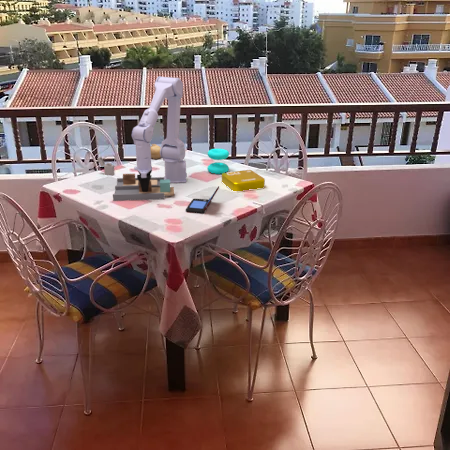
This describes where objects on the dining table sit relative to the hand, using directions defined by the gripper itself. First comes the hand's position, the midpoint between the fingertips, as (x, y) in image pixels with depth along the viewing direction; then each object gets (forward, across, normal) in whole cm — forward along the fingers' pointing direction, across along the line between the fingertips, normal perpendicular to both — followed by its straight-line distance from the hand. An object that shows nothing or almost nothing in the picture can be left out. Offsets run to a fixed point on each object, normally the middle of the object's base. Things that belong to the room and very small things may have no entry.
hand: (145, 189), depth 193 cm
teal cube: (+1, 0, +8) cm, 8 cm away
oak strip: (+2, 0, +4) cm, 5 cm away
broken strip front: (+2, -10, -6) cm, 12 cm away
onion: (+3, -52, +3) cm, 53 cm away
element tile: (+3, -10, +41) cm, 43 cm away
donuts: (+3, -29, +32) cm, 44 cm away
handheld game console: (+3, +14, +22) cm, 27 cm away
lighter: (+3, -28, -18) cm, 33 cm away
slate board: (+3, -5, -2) cm, 6 cm away
